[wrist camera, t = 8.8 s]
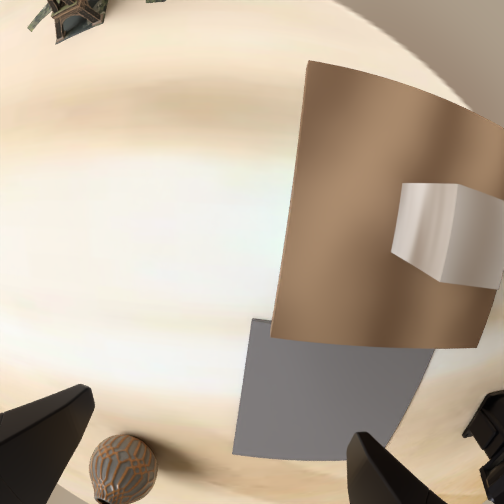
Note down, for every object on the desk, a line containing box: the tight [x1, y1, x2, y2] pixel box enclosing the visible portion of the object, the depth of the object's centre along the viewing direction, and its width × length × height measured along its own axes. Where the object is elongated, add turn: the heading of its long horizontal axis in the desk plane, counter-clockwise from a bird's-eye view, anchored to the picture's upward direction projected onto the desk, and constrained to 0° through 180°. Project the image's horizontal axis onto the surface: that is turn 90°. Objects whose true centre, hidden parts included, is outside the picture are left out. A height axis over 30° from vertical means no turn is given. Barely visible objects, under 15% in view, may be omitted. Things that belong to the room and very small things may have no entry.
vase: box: [89, 435, 157, 504], centre depth 20 cm, size 7×7×9 cm
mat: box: [232, 319, 434, 461], centre depth 21 cm, size 15×15×1 cm
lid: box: [270, 60, 504, 349], centre depth 10 cm, size 13×13×6 cm
